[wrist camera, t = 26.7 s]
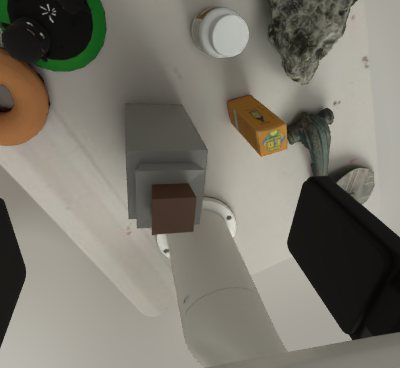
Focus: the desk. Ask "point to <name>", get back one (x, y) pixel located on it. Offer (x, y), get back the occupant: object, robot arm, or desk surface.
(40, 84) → the donut
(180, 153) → the perfume bottle
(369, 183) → the sculpture
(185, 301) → the robot arm
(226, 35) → the pill bottle
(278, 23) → the rock
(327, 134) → the decorative handle
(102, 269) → the desk surface
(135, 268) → the desk surface
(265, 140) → the supplement box
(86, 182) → the desk surface
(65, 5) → the toy figurine
